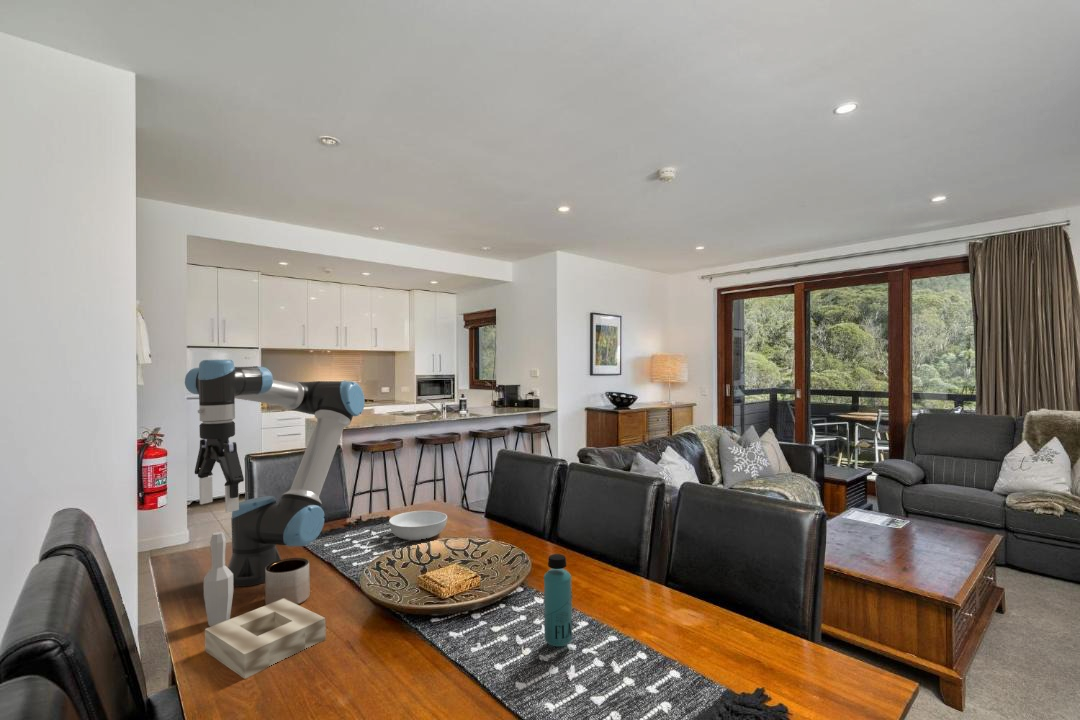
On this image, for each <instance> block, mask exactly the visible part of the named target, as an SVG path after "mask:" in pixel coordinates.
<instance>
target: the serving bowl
mask: <svg viewBox="0 0 1080 720" xmlns="http://www.w3.org/2000/svg"><path fill="white" fill-rule="evenodd" d="M447 521H448V515H447V514H446V513H444V512H441V511H436V510H435V511H434V510H414V511H406V512H402V513H399V514H396V515H394V516H391V517H390V518H389V520H388V524H389V525H388V526H389V528H390V531H391V532H392V533H393V535H395V536H396V537H397V538H400V539H403V540H408V541H422V540H421V539H424V540H427V539H430V538H432V537H436V536H437V535H439V534H441V532H442V531H444V528H445V527H446V526H447ZM426 538H427V539H426Z"/></svg>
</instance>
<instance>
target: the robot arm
mask: <svg viewBox="0 0 1080 720" xmlns="http://www.w3.org/2000/svg"><path fill="white" fill-rule="evenodd" d="M234 363H235V362H234V360H233V359H204V360H201V361H200V362H199V365H198V367H194V368H192V369H190V370H189V371H187V373H186V375H185V378H184V386H185V389H186V390H187V391H188V392H189V393H190V394H193V395H198V401H199V402H198V403H199V405H198V406H199V409H198V410H197V414H199V421H200V422H202V423H200V424H199V438H200V440H199V450H198V455H197V457H196V464H195V467H194V474H195V475H197V477H198V478H199V479H198V482H199V483H198V485H199V487H198V488H199V505H204V504H209V503H213V499H214V497H213V476H214V473H213V469H214V467H215V464H216V463H218V464H219V466H220V468H221V471H222V474H223V476H224V478H225V483H224V489H225V490H224V493H225V495H224V496H225V497H224V503H225V513H227V514H228V513H231V518H230V520H231V523H230V524H231V546H232V549H231V550H232V551H231V557H230V560H229V562H228V566H227V568H228V569H229V570H230V571H231V572H232V573H233V587H247V586H256V585H259V584H263V583H264V584H265V569H266V567H267V566H268V565H270V564H271V563H274V562H276V561H279V560H282V558H281V556H280V553H279V550H278V548H277V546H287V547H306V546H309V545H310V544H311V543H312V542H315V540H316V539H317V538H318V537H319V536H320V534H321V532H322V530H323V528H324V525H325V518H324V517H325V512H324V509H323V508H322V505H323V503H322V502H323V501H322V500H321V499H320V496H321V493H322V489H323V487H324V484H325V481H326V478H327V476H328V473H329V470H330V467H331V465H332V462H333V459H334V457H335V454H336V452H337V448H338V445H339V442H340V439H341V437H342V434H343V432H344V428H346V427H348V426H350V425H351V423H352V420H353V418H354V417H358V416H359V415H361V414H362V413H363V411H364V408H365V404H366V402H365V394H364V391H363V389H362V387H361V385H359V383H357V382H355V381H350V380H349V381H348V380H340V381H339V380H338V381H337V380H334V381H333V380H331V381H330V380H329V381H327V380H326V381H325V380H323V381H322V380H318V381H315V380H314V381H297V380H290V381H287V382H286V381H281V380H277V379H274V376H273V374H272V372H271V370H269V369H268V367H266V366H257V365H256V366H254V365H253V366H235V364H234ZM235 399H236V400H244V401H250V402H256V403H263V404H268V405H269V404H270V405H278V406H281V407H282V408H283V409H285V410H289V411H294V412H299V413H303V414H309V415H314V417H315V418H316V420H317V421H316V423H315V426H314V428H313V430H312V433H311V435H310V438H309V441H308V444H307V446H306V448H305V450H304V453H303V456H302V459H301V461H300V464H299V467H298V469H297V471H296V473H295V476H294V479H293V482H292V484H291V486H290V489H289V490H288V491H285V492H284V493H282V495H281V498H280V499H279V502H277V499H276V497H275V496H274V495H266V496H260V497H254V498H250V499H245V500H242V501H240V495H239V494H240V493H239V492H240V491H239V484H240V483H242V482H244V481H245V479H244V474H243V469H242V465H241V463H240V458H239V453H238V447H237V442H235V441H233V442H230V438H231V437H234V436H235V435H236V423H235V421H233V420H235V419H236V404H235V402H236V401H235Z"/></svg>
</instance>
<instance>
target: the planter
mask: <svg viewBox="0 0 1080 720" xmlns="http://www.w3.org/2000/svg"><path fill="white" fill-rule="evenodd" d="M310 582H311V581H310V561H309V559H307V558H303V557H291V558H290V557H289V558H285V559H284V558H283V559H281V560H279V561H276V562H274V563H271V564H270V565H268V566H267V567H266V569H265V582H264V584H265V585H264V586H265V589H264V591H265V592H264V593H265V595H264V596H265V597H264V598H265V601H264V602H265V606H266V605H268V604H271V603H273V602H276V601H278V600H281V599H286V600H288V601H290V602H293V603H295V604H297V605H300V604H303V603H304V602H306V601H307V600H308V598H309V597H310V594H311V585H310V584H311V583H310Z"/></svg>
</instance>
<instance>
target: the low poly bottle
mask: <svg viewBox="0 0 1080 720" xmlns="http://www.w3.org/2000/svg"><path fill="white" fill-rule="evenodd" d="M209 545H210V553H211V568H210V569H209V570H208V571H207V573H206V575H205V576H204V577H203V599H204V606H205V612H206V618H207V624H208V626H209V627H211V626H214V625H216V624H219V623H222V622H224V621H227V620H229V619H231V614H232V613H231V612H232V605H233V597H234V596H233V595H234V586H233V573H232V572H231V571H230V570H229V569H228V566H226V547H227V546H226V545H227V539H226V536H225V533H224V531H217V532H216V531H215V532H213V533H212V534H211V538H210V542H209Z"/></svg>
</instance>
